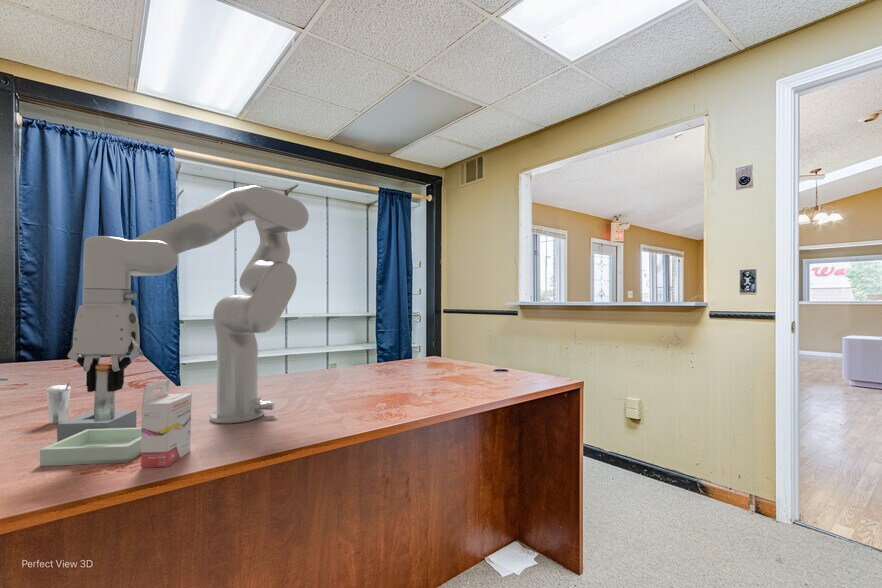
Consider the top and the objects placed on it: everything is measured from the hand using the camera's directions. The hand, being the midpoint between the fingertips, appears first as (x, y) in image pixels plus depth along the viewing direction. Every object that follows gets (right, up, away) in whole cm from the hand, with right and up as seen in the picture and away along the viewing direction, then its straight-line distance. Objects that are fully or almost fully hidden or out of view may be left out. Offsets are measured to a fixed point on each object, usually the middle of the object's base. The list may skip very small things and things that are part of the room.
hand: (105, 389), depth 84 cm
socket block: (-10, -13, +11) cm, 20 cm away
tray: (0, -13, 0) cm, 13 cm away
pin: (0, -6, 0) cm, 6 cm away
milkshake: (-27, -13, +20) cm, 36 cm away
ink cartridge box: (+15, -13, -3) cm, 20 cm away
